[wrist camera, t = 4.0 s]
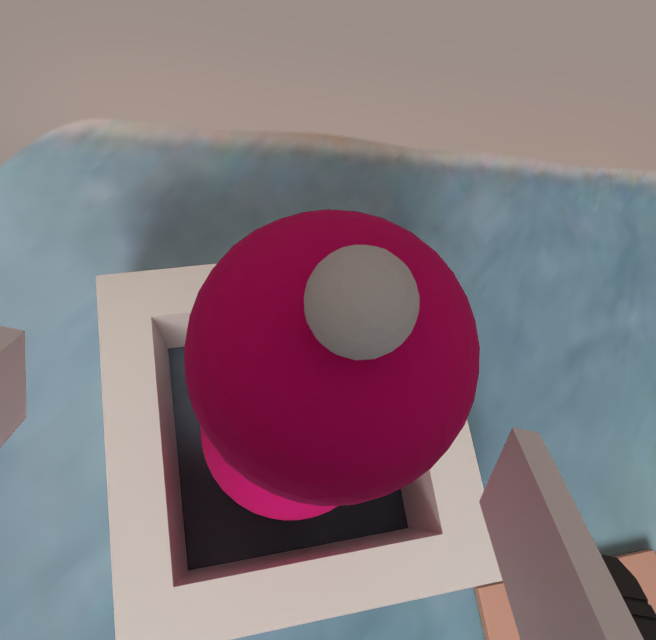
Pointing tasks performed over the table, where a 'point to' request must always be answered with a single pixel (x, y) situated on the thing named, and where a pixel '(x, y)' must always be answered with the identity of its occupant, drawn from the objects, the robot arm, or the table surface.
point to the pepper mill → (328, 363)
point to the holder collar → (266, 571)
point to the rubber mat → (498, 615)
